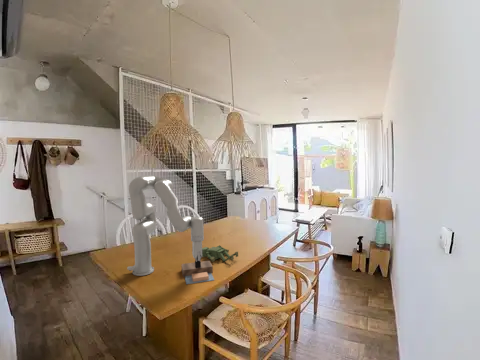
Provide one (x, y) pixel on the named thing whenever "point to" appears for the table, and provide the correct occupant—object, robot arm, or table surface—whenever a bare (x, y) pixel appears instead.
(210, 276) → the mat
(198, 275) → the tan flat block
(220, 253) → the toy
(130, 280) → the table surface
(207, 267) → the plate
